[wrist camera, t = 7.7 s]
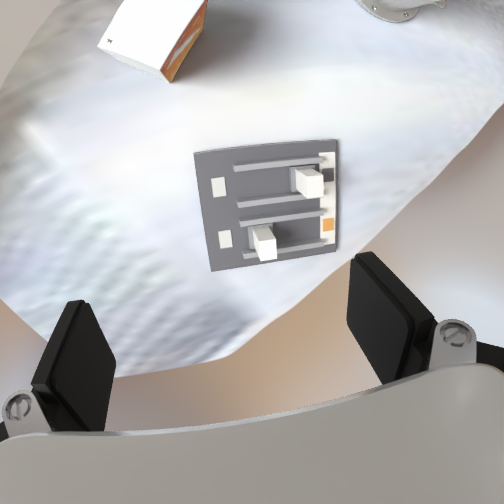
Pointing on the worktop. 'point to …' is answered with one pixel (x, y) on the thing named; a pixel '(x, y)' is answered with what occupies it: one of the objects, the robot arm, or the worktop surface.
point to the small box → (154, 34)
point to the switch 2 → (306, 181)
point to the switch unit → (266, 201)
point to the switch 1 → (262, 241)
